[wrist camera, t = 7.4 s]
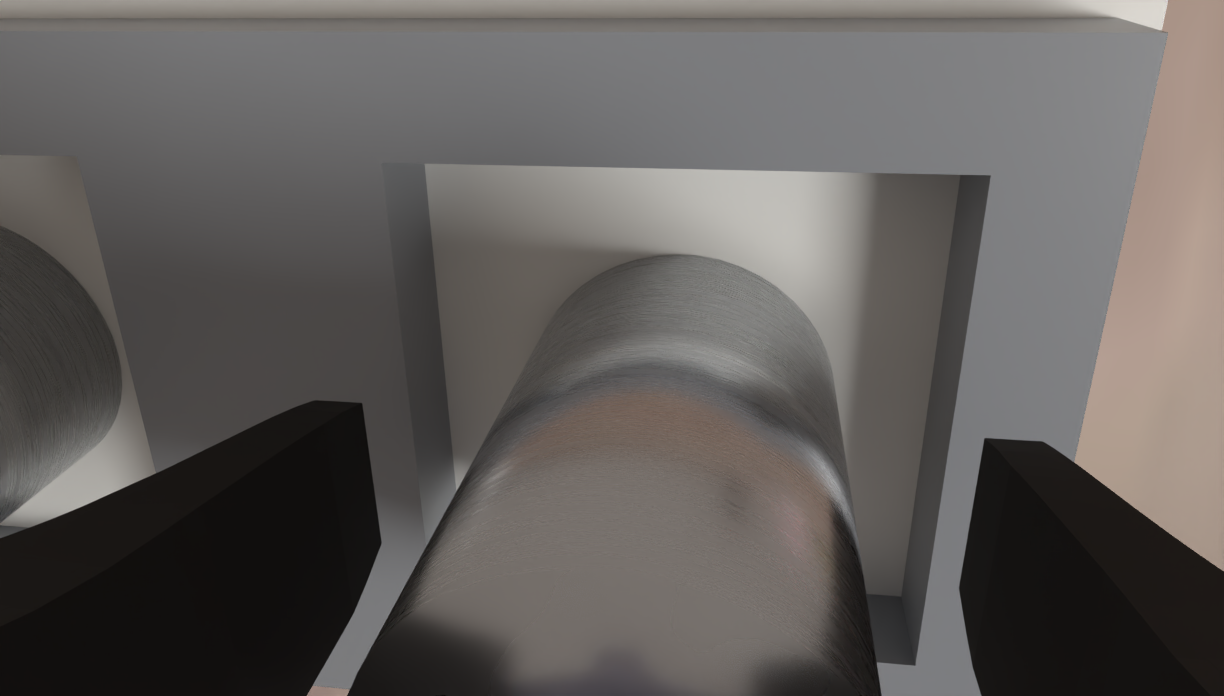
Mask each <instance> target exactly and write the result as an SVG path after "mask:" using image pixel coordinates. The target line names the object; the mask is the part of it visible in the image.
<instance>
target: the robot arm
mask: <svg viewBox="0 0 1224 696" xmlns="http://www.w3.org/2000/svg"><path fill="white" fill-rule="evenodd" d="M381 544H382V541H381V534H380V527H379V520H378V512H377V505H376V498H375V491H374V484H373V477H372V469H371V462H370V455H369V448H368V441H367V434H366V426H365V419H364V412H363V405H362V403H357V402H339V401H321V400H314V401H311V402H308V403H305V404H302V405H299V406H297V407H294V408H292V409H289V410H287V411H285V412H282V413H280V414H278V415H276V416H274V417H271V418H269V419H267V420H265V421H263V422H261V423H259V424H257V425H254V426H252V427H250V428H248V429H246V430H244V431H242V432H240V433H238V434H236V435H234V436H232V437H230V438H228V439H226V440H224V441H222V442H220V443H218V444H216V445H214V446H211V447H209V448H207V449H205V450H203V451H201V452H199V453H197V454H195V455H193V456H191V457H189V458H187V459H185V460H183V461H181V462H179V463H177V464H175V465H173V466H171V467H168V468H166V469H164V470H162V471H160V472H158V473H155V474H153V475H151V476H149V477H147V478H144V479H142V480H140V481H138V482H135V483H133V484H131V485H129V486H127V487H124V488H122V489H120V490H118V491H115V492H113V493H111V494H109V495H107V496H104V497H102V498H100V499H98V500H96V501H93V502H91V503H89V504H87V505H84V506H82V507H80V508H77V509H75V510H72V511H70V512H68V513H65V514H63V515H60V516H58V517H55V518H53V519H50V520H48V521H45V522H43V523H40V524H37V525H35V526H32V527H30V528H27V529H24V530H21V531H19V532H16V533H13V534H10V535H8V536H5V537H2V538H0V696H307V694H308V692H309V691H310V689H311V687H312V686H313V684H314V682H315V680H316V679H317V677H318V675H319V674H320V672H321V670H322V668H323V667H324V665H325V663H326V661H327V660H328V658H329V656H330V655H331V653H332V651H333V649H334V648H335V646H336V644H337V642H338V641H339V639H340V637H341V635H342V634H343V632H344V630H345V628H346V626H347V625H348V623H349V621H350V619H351V617H352V616H353V614H354V612H355V609H356V607H357V605H358V602H359V600H360V597H361V595H362V593H363V590H364V588H365V586H366V583H367V581H368V578H369V576H370V573H371V570H372V568H373V565H374V562H375V560H376V557H377V555H378V552H379V549H380V547H381ZM959 592H960V598H961V604H962V610H963V617H964V623H965V629H966V635H967V640H968V645H969V650H970V656H971V661H972V666H973V670H974V673H975V677H976V680H977V683H978V687H979V690H980V693H981V696H1224V571H1222V570H1221V569H1219V568H1218V567H1216V566H1215V565H1213V564H1212V563H1210V562H1209V561H1207V560H1206V559H1205V558H1203V557H1202V556H1200V555H1199V554H1197V553H1196V552H1194V551H1193V550H1192V549H1190V548H1189V547H1187V546H1186V545H1184V544H1183V543H1182V542H1180V541H1179V540H1177V539H1176V538H1175V537H1173V536H1172V535H1170V534H1169V533H1168V532H1166V531H1165V530H1164V529H1162V528H1161V527H1160V526H1158V525H1157V524H1155V523H1154V522H1153V521H1151V520H1150V519H1149V518H1147V517H1146V516H1145V515H1143V514H1142V513H1141V512H1139V511H1138V510H1137V509H1135V508H1134V507H1133V506H1131V505H1130V504H1129V503H1127V502H1126V501H1125V500H1123V499H1122V498H1121V497H1119V496H1118V495H1117V494H1115V493H1114V492H1113V491H1111V490H1110V489H1109V488H1107V487H1106V486H1105V485H1103V484H1102V483H1101V482H1099V481H1098V480H1097V479H1095V478H1094V477H1093V476H1092V475H1090V474H1089V473H1088V472H1086V471H1085V470H1084V469H1082V468H1081V467H1079V466H1078V465H1077V464H1075V463H1074V462H1073V461H1071V460H1070V459H1069V458H1067V457H1066V456H1064V455H1063V454H1062V453H1060V452H1059V451H1057V450H1056V449H1054V448H1053V447H1051V446H1050V445H1048V444H1046V443H1045V442H1043V441H1028V440H1011V439H993V438H984V444H983V450H982V455H981V461H980V467H979V473H978V479H977V485H976V490H975V496H974V502H973V508H972V514H971V520H970V526H969V531H968V537H967V543H966V549H965V555H964V561H963V566H962V572H961V578H960V584H959Z"/></svg>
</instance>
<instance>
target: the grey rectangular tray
mask: <svg viewBox="0 0 1224 696" xmlns="http://www.w3.org/2000/svg"><path fill="white" fill-rule="evenodd" d="M1167 3H1168V0H0V226H2V227H5V228H7V229H9V230H11V231H13V232H15V233H17V234H19V235H21V236H23V237H25V238H26V239H28V240H30V241H31V242H33V243H34V244H36V245H38V246H39V247H41V248H42V249H43V250H45V251H46V252H47V253H48V254H50V255H51V256H52V257H54V258H55V259H56V260H57V261H58V262H59V263H61V264H62V265H63V266H64V267H65V268H66V269H67V270H68V271H69V272H70V273H71V274H72V275H73V276H74V277H75V278H76V279H77V281H78V282H79V283H80V284H81V285H82V286H83V287H84V289H85V290H86V291H87V293H88V294H89V295H90V297H91V298H92V300H93V301H94V302H95V304H96V305H97V307H98V309H99V310H100V312H101V314H102V316H103V317H104V319H105V321H106V323H107V325H108V327H109V330H110V332H111V334H112V336H113V339H114V342H115V345H116V348H117V351H118V355H119V360H120V365H121V371H122V395H121V403H120V406H119V410H118V414H117V417H116V419H115V421H114V423H113V425H112V427H111V429H110V430H109V432H108V433H107V435H106V436H105V438H104V439H103V440H102V441H101V442H100V443H99V444H98V445H97V446H96V447H95V448H93V449H92V450H91V451H90V452H88V453H87V454H86V455H85V456H83V457H82V458H81V459H80V460H78V461H77V462H76V463H75V464H73V465H72V466H71V467H70V468H68V469H67V470H66V471H65V472H63V473H62V474H61V475H60V476H58V477H57V478H56V479H55V480H53V481H52V482H51V483H50V484H48V485H47V486H46V487H45V488H43V489H42V490H41V491H40V492H38V493H37V494H36V495H35V496H34V497H32V498H31V499H30V500H29V501H27V502H26V503H25V504H24V505H22V506H21V507H20V508H19V509H17V510H16V511H15V512H14V513H12V514H11V515H10V516H9V517H7V518H6V519H5V520H4V521H2V522H1V523H0V538H2V537H5V536H8V535H10V534H13V533H16V532H19V531H21V530H24V529H27V528H30V527H32V526H35V525H37V524H40V523H43V522H45V521H48V520H50V519H53V518H55V517H58V516H60V515H63V514H65V513H68V512H70V511H72V510H75V509H77V508H80V507H82V506H84V505H87V504H89V503H91V502H93V501H96V500H98V499H100V498H102V497H104V496H107V495H109V494H111V493H113V492H115V491H118V490H120V489H122V488H124V487H127V486H129V485H131V484H133V483H135V482H138V481H140V480H142V479H144V478H147V477H149V476H151V475H153V474H155V473H158V472H160V471H162V470H164V469H166V468H168V467H171V466H173V465H175V464H177V463H179V462H181V461H183V460H185V459H187V458H189V457H191V456H193V455H195V454H197V453H199V452H201V451H203V450H205V449H207V448H209V447H211V446H214V445H216V444H218V443H220V442H222V441H224V440H226V439H228V438H230V437H232V436H234V435H236V434H238V433H240V432H242V431H244V430H246V429H248V428H250V427H252V426H254V425H257V424H259V423H261V422H263V421H265V420H267V419H269V418H271V417H274V416H276V415H278V414H280V413H282V412H285V411H287V410H289V409H292V408H294V407H297V406H299V405H302V404H305V403H308V402H311V401H314V400H321V401H339V402H357V403H362V405H363V412H364V419H365V426H366V434H367V441H368V448H369V455H370V462H371V469H372V477H373V484H374V491H375V498H376V505H377V512H378V520H379V527H380V534H381V541H382V544H381V547H380V549H379V552H378V555H377V557H376V560H375V562H374V565H373V568H372V570H371V573H370V576H369V578H368V581H367V583H366V586H365V588H364V590H363V593H362V595H361V597H360V600H359V602H358V605H357V607H356V609H355V612H354V614H353V616H352V617H351V619H350V621H349V623H348V625H347V626H346V628H345V630H344V632H343V634H342V635H341V637H340V639H339V641H338V642H337V644H336V646H335V648H334V649H333V651H332V653H331V655H330V656H329V658H328V660H327V661H326V663H325V665H324V667H323V668H322V670H321V672H320V674H319V675H318V677H317V679H316V680H315V682H314V684H313V686H321V687H331V688H342V689H350V688H351V686H352V684H353V682H354V679H355V677H356V675H357V673H358V671H359V669H360V667H361V665H362V663H363V662H364V660H365V658H366V656H367V654H368V652H369V651H370V649H371V647H372V645H373V643H374V641H375V640H376V638H377V636H378V634H379V632H380V630H381V629H382V627H383V625H384V623H385V621H386V619H387V618H388V616H389V614H390V612H391V610H392V608H393V607H394V605H395V603H396V601H397V599H398V597H399V596H400V594H401V592H402V590H403V588H404V586H405V585H406V583H407V581H408V579H409V577H410V575H411V574H412V572H413V570H414V568H415V566H416V564H417V563H418V561H419V559H420V557H421V555H422V553H423V552H424V550H425V548H426V546H427V544H428V542H429V541H430V539H431V537H432V535H433V533H434V531H435V530H436V528H437V526H438V524H439V522H440V520H441V519H442V517H443V515H444V513H445V511H446V509H447V508H448V506H449V504H450V502H451V500H452V498H453V497H454V495H455V493H456V491H457V489H458V487H459V486H460V484H461V482H462V480H463V478H464V477H465V475H466V473H467V471H468V469H469V467H470V466H471V464H472V462H473V460H474V458H475V456H476V455H477V453H478V451H479V449H480V447H481V445H482V444H483V442H484V440H485V438H486V436H487V434H488V433H489V431H490V429H491V427H492V425H493V423H494V422H495V420H496V418H497V416H498V414H499V412H500V411H501V409H502V407H503V405H504V403H505V401H506V400H507V398H508V396H509V394H510V392H511V390H512V389H513V387H514V385H515V383H516V381H517V379H518V378H519V376H520V374H521V372H522V370H523V368H524V367H525V365H526V363H527V361H528V359H529V357H530V356H531V354H532V352H533V350H534V348H535V346H536V345H537V343H538V341H539V339H540V337H541V335H542V334H543V332H544V330H545V328H546V326H547V325H548V323H549V322H550V320H551V319H552V317H553V315H554V314H555V312H556V311H557V310H558V308H559V307H560V306H561V305H562V304H563V303H564V302H565V300H566V299H567V298H568V297H569V296H570V295H571V294H572V293H574V292H575V291H576V290H577V289H578V288H579V287H581V286H582V285H583V284H584V283H586V282H587V281H589V280H591V279H592V278H594V277H595V276H597V275H598V274H600V273H602V272H604V271H606V270H609V269H611V268H613V267H615V266H617V265H620V264H623V263H626V262H629V261H633V260H636V259H640V258H646V257H651V256H657V255H674V254H682V255H696V256H704V257H708V258H713V259H718V260H722V261H725V262H728V263H731V264H734V265H737V266H740V267H743V268H745V269H747V270H749V271H751V272H753V273H755V274H757V275H759V276H761V277H762V278H764V279H766V280H767V281H769V282H770V283H772V284H773V285H775V286H776V287H778V288H779V289H780V290H781V291H782V292H784V293H785V294H786V295H787V296H788V297H789V298H791V299H792V300H793V301H794V302H795V303H796V304H797V306H798V307H799V308H800V309H801V310H802V311H803V312H804V313H805V314H806V316H807V317H808V318H809V320H810V321H811V323H812V324H813V326H814V327H815V329H816V330H817V332H818V334H819V336H820V338H821V340H822V342H823V344H824V346H825V348H826V351H827V354H828V357H829V360H830V363H831V367H832V372H833V378H834V384H835V391H836V398H837V404H838V411H839V417H840V424H841V430H842V437H843V444H844V450H845V457H846V463H847V470H848V477H849V483H850V490H851V496H852V503H853V510H854V516H855V523H856V529H857V536H858V542H859V549H860V556H861V562H862V569H863V575H864V582H865V589H866V595H867V602H868V608H869V615H870V621H871V628H872V635H873V641H874V648H875V654H876V661H877V668H878V674H879V681H880V687H881V694H882V696H981V693H980V690H979V687H978V683H977V680H976V677H975V673H974V670H973V666H972V661H971V656H970V650H969V645H968V640H967V635H966V629H965V623H964V617H963V610H962V604H961V598H960V592H959V584H960V578H961V572H962V566H963V561H964V555H965V549H966V543H967V537H968V531H969V526H970V520H971V514H972V508H973V502H974V496H975V490H976V485H977V479H978V473H979V467H980V461H981V455H982V450H983V444H984V438H993V439H1011V440H1028V441H1043V442H1045V443H1046V444H1048V445H1050V446H1051V447H1053V448H1054V449H1056V450H1057V451H1059V452H1060V453H1062V454H1063V455H1064V456H1066V457H1067V458H1069V459H1070V460H1071V461H1073V462H1074V460H1075V455H1076V451H1077V446H1078V442H1079V437H1080V433H1081V428H1082V423H1083V419H1084V414H1085V410H1086V405H1087V401H1088V396H1089V391H1090V387H1091V382H1092V378H1093V373H1094V369H1095V364H1096V359H1097V355H1098V350H1099V346H1100V341H1101V337H1102V332H1103V328H1104V323H1105V318H1106V314H1107V309H1108V305H1109V300H1110V296H1111V291H1112V286H1113V282H1114V277H1115V273H1116V268H1117V264H1118V259H1119V254H1120V250H1121V245H1122V241H1123V236H1124V232H1125V227H1126V223H1127V218H1128V213H1129V209H1130V204H1131V200H1132V195H1133V191H1134V186H1135V181H1136V177H1137V172H1138V168H1139V163H1140V159H1141V154H1142V150H1143V145H1144V140H1145V136H1146V131H1147V127H1148V122H1149V118H1150V113H1151V108H1152V104H1153V99H1154V95H1155V90H1156V86H1157V81H1158V76H1159V72H1160V67H1161V63H1162V58H1163V54H1164V49H1165V45H1166V40H1167V35H1168V32H1164V31H1162V26H1163V21H1164V17H1165V12H1166V8H1167Z"/></svg>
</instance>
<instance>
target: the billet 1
mask: <svg viewBox="0 0 1224 696" xmlns="http://www.w3.org/2000/svg"><path fill="white" fill-rule="evenodd" d="M121 395H122V371H121V365H120V360H119V355H118V351H117V348H116V345H115V342H114V339H113V336H112V334H111V332H110V330H109V327H108V325H107V323H106V321H105V319H104V317H103V316H102V314H101V312H100V310H99V309H98V307H97V305H96V304H95V302H94V301H93V300H92V298H91V297H90V295H89V294H88V293H87V291H86V290H85V289H84V287H83V286H82V285H81V284H80V283H79V282H78V281H77V279H76V278H75V277H74V276H73V275H72V274H71V273H70V272H69V271H68V270H67V269H66V268H65V267H64V266H63V265H62V264H61V263H59V262H58V261H57V260H56V259H55V258H54V257H52V256H51V255H50V254H48V253H47V252H46V251H45V250H43V249H42V248H41V247H39V246H38V245H36V244H34V243H33V242H31V241H30V240H28V239H26V238H25V237H23V236H21V235H19V234H17V233H15V232H13V231H11V230H9V229H7V228H5V227H2V226H0V523H1V522H2V521H4V520H5V519H6V518H7V517H9V516H10V515H11V514H12V513H14V512H15V511H16V510H17V509H19V508H20V507H21V506H22V505H24V504H25V503H26V502H27V501H29V500H30V499H31V498H32V497H34V496H35V495H36V494H37V493H38V492H40V491H41V490H42V489H43V488H45V487H46V486H47V485H48V484H50V483H51V482H52V481H53V480H55V479H56V478H57V477H58V476H60V475H61V474H62V473H63V472H65V471H66V470H67V469H68V468H70V467H71V466H72V465H73V464H75V463H76V462H77V461H78V460H80V459H81V458H82V457H83V456H85V455H86V454H87V453H88V452H90V451H91V450H92V449H93V448H95V447H96V446H97V445H98V444H99V443H100V442H101V441H102V440H103V439H104V438H105V436H106V435H107V433H108V432H109V430H110V429H111V427H112V425H113V423H114V421H115V419H116V417H117V414H118V410H119V406H120V403H121Z"/></svg>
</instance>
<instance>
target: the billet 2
mask: <svg viewBox="0 0 1224 696" xmlns="http://www.w3.org/2000/svg"><path fill="white" fill-rule="evenodd" d="M347 696H882V694H881V687H880V681H879V674H878V668H877V661H876V654H875V648H874V641H873V635H872V628H871V621H870V615H869V608H868V602H867V595H866V589H865V582H864V575H863V569H862V562H861V556H860V549H859V542H858V536H857V529H856V523H855V516H854V510H853V503H852V496H851V490H850V483H849V477H848V470H847V463H846V457H845V450H844V444H843V437H842V430H841V424H840V417H839V411H838V404H837V398H836V391H835V384H834V378H833V372H832V367H831V363H830V360H829V357H828V354H827V351H826V348H825V346H824V344H823V342H822V340H821V338H820V336H819V334H818V332H817V330H816V329H815V327H814V326H813V324H812V323H811V321H810V320H809V318H808V317H807V316H806V314H805V313H804V312H803V311H802V310H801V309H800V308H799V307H798V306H797V304H796V303H795V302H794V301H793V300H792V299H791V298H789V297H788V296H787V295H786V294H785V293H784V292H782V291H781V290H780V289H779V288H778V287H776V286H775V285H773V284H772V283H770V282H769V281H767V280H766V279H764V278H762V277H761V276H759V275H757V274H755V273H753V272H751V271H749V270H747V269H745V268H743V267H740V266H737V265H734V264H731V263H728V262H725V261H722V260H718V259H713V258H708V257H704V256H696V255H682V254H674V255H657V256H651V257H646V258H640V259H636V260H633V261H629V262H626V263H623V264H620V265H617V266H615V267H613V268H611V269H609V270H606V271H604V272H602V273H600V274H598V275H597V276H595V277H594V278H592V279H591V280H589V281H587V282H586V283H584V284H583V285H582V286H581V287H579V288H578V289H577V290H576V291H575V292H574V293H572V294H571V295H570V296H569V297H568V298H567V299H566V300H565V302H564V303H563V304H562V305H561V306H560V307H559V308H558V310H557V311H556V312H555V314H554V315H553V317H552V319H551V320H550V322H549V323H548V325H547V326H546V328H545V330H544V332H543V334H542V335H541V337H540V339H539V341H538V343H537V345H536V346H535V348H534V350H533V352H532V354H531V356H530V357H529V359H528V361H527V363H526V365H525V367H524V368H523V370H522V372H521V374H520V376H519V378H518V379H517V381H516V383H515V385H514V387H513V389H512V390H511V392H510V394H509V396H508V398H507V400H506V401H505V403H504V405H503V407H502V409H501V411H500V412H499V414H498V416H497V418H496V420H495V422H494V423H493V425H492V427H491V429H490V431H489V433H488V434H487V436H486V438H485V440H484V442H483V444H482V445H481V447H480V449H479V451H478V453H477V455H476V456H475V458H474V460H473V462H472V464H471V466H470V467H469V469H468V471H467V473H466V475H465V477H464V478H463V480H462V482H461V484H460V486H459V487H458V489H457V491H456V493H455V495H454V497H453V498H452V500H451V502H450V504H449V506H448V508H447V509H446V511H445V513H444V515H443V517H442V519H441V520H440V522H439V524H438V526H437V528H436V530H435V531H434V533H433V535H432V537H431V539H430V541H429V542H428V544H427V546H426V548H425V550H424V552H423V553H422V555H421V557H420V559H419V561H418V563H417V564H416V566H415V568H414V570H413V572H412V574H411V575H410V577H409V579H408V581H407V583H406V585H405V586H404V588H403V590H402V592H401V594H400V596H399V597H398V599H397V601H396V603H395V605H394V607H393V608H392V610H391V612H390V614H389V616H388V618H387V619H386V621H385V623H384V625H383V627H382V629H381V630H380V632H379V634H378V636H377V638H376V640H375V641H374V643H373V645H372V647H371V649H370V651H369V652H368V654H367V656H366V658H365V660H364V662H363V663H362V665H361V667H360V669H359V671H358V673H357V675H356V677H355V679H354V682H353V684H352V686H351V688H350V691H349V693H348V695H347Z"/></svg>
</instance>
